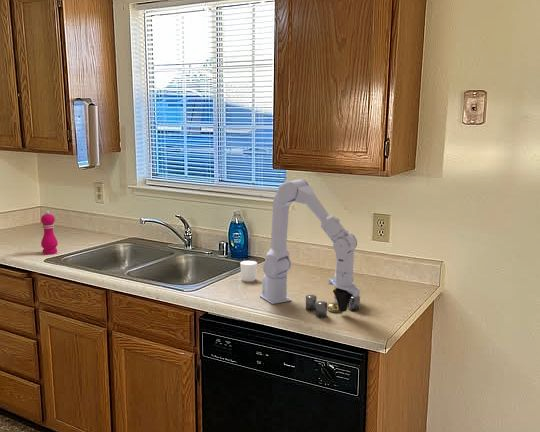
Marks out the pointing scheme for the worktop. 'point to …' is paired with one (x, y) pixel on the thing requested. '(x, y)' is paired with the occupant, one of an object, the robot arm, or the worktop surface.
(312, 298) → the spacer near
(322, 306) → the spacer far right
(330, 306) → the nut
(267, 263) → the robot arm
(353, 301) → the grey metal cylinder
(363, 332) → the worktop surface
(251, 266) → the white cylinder
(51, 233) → the pepper mill
